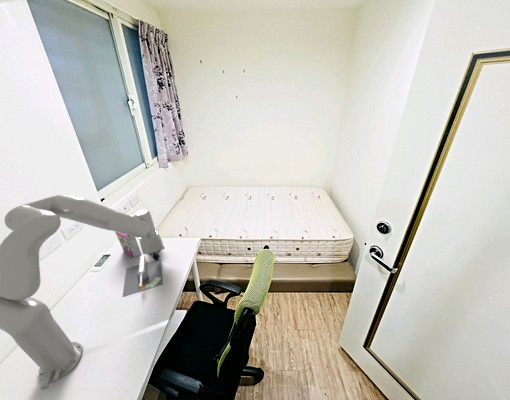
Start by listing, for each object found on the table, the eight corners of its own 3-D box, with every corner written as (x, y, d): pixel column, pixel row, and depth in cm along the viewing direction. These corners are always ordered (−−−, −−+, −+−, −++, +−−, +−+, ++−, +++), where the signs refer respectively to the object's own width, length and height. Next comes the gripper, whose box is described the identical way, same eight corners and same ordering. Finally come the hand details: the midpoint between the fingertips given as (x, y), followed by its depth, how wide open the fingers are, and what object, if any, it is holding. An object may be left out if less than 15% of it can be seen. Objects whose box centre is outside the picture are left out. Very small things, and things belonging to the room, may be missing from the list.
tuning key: (148, 289, 106) (146, 283, 104) (137, 293, 105) (134, 287, 103) (149, 259, 125) (147, 254, 123) (139, 262, 123) (137, 256, 121)
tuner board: (163, 286, 110) (162, 284, 109) (123, 299, 104) (122, 297, 103) (161, 260, 126) (161, 258, 125) (127, 269, 120) (126, 268, 120)
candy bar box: (123, 253, 133) (114, 231, 125) (131, 248, 136) (123, 226, 128) (134, 259, 127) (125, 237, 119) (142, 254, 131) (134, 232, 123)
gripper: (131, 240, 107) (142, 268, 116) (163, 232, 112) (171, 259, 121) (132, 232, 113) (142, 258, 122) (163, 225, 118) (170, 251, 127)
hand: (157, 259), depth 121 cm, fingers closed
